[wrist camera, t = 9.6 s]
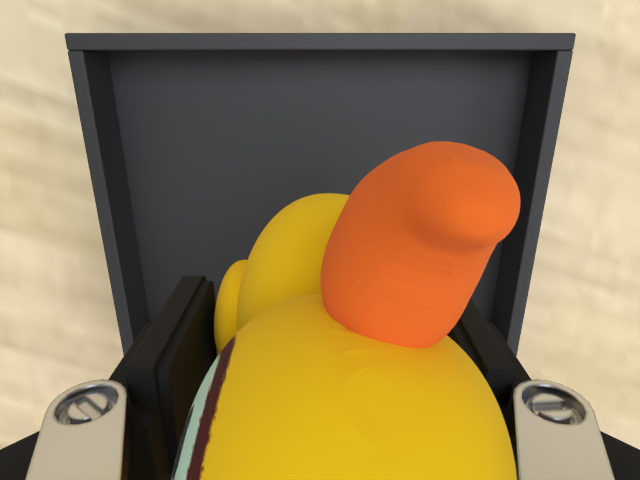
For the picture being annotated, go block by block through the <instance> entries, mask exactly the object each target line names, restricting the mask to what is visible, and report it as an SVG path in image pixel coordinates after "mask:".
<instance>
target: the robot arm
mask: <svg viewBox="0 0 640 480" xmlns="http://www.w3.org/2000/svg"><path fill="white" fill-rule="evenodd" d="M215 307H216V301H215V290H214V283H213V281H207V279H206V277H205V276H183V277H182V278H181V280H180V281H179V283H178V284H177V286H176V287H175V289H174V290H173V292H172V294H171V295H170V297H169V298H168V300H167V301H166V303H165V304H164V306H163V307H162V309H161V311H160V312H159V314H158V315H157V317H156V318H155V320H154V321H153V323H147V324H146V325H145V326H144V327H143V329H142V330H141V332H140V333H139V335H138V336H137V338H136V339H135V341H134V342H133V344H132V345H131V347H130V348H129V350H128V351H127V353H126V354H125V356H124V357H123V359H122V360H121V362H120V363H119V365H118V366H117V368H116V369H115V371H114V372H113V374H112V375H111V377H110V378H109V380H94V381H89V382H85V383H82V384H79V385H76V386H74V387H72V388H70V389H68V390H66V391H65V392H63V393H62V394H60V395H59V396H57V397H56V398H55V399H54V400H53V401H52V402H51V403H50V405H49V407H48V409H47V411H46V413H45V416H44V419H43V423H42V426H41V429H40V431H38V432H36V433H34V434H32V435H30V436H28V437H26V438H24V439H22V440H20V441H18V442H16V443H13V444H11V445H9V446H7V447H5V448H3V449H1V450H0V480H171V479H172V474H173V469H174V464H175V460H176V456H177V452H178V448H179V444H180V440H181V437H182V433H183V430H184V427H185V424H186V421H187V418H188V415H189V412H190V409H191V407H192V404H193V402H194V399H195V397H196V395H197V392H198V390H199V388H200V386H201V384H202V382H203V380H204V378H205V376H206V374H207V373H208V371H209V369H210V367H211V366H212V364H213V363H214V361H215V360H216V358H217V348H216V344H215V338H214V314H215ZM447 336H449V337H450V338H451V339H452V340H453V341H454V342H455V343H457V344H458V345H459V346H460V347H461V348H462V349H463V350H464V351H465V353H466V354H467V355H468V356H469V357H470V358H471V359H472V361H473V362H474V363H475V365H476V366H477V367H478V369H479V370H480V372H481V373H482V375H483V376H484V378H485V380H486V381H487V383H488V385H489V387H490V388H491V390H492V392H493V394H494V396H495V398H496V401H497V403H498V405H499V407H500V410H501V412H502V415H503V418H504V421H505V424H506V427H507V430H508V433H509V437H510V441H511V445H512V449H513V454H514V459H515V465H516V472H517V480H640V450H639V449H637V448H635V447H633V446H631V445H628V444H626V443H624V442H622V441H620V440H618V439H616V438H614V437H612V436H610V435H608V434H605V433H603V432H601V431H600V429H599V426H598V423H597V419H596V416H595V413H594V411H593V409H592V407H591V405H590V403H589V402H588V401H587V400H586V399H585V398H584V397H583V396H581V395H580V394H578V393H577V392H575V391H574V390H572V389H570V388H568V387H566V386H564V385H561V384H558V383H555V382H551V381H546V380H531V379H530V377H529V376H528V374H527V373H526V371H525V370H524V368H523V367H522V365H521V364H520V362H519V361H518V359H517V358H516V356H515V355H514V353H513V352H512V350H511V349H510V347H509V346H508V344H507V343H506V341H505V340H504V338H503V337H502V335H501V334H500V332H499V331H498V329H497V328H496V326H495V325H494V324H493V323H487V322H486V320H485V319H484V317H483V316H482V314H481V313H480V311H479V310H478V308H477V306H476V305H475V303H474V302H473V300H472V299H471V298H470V300H469V302H468V304H467V306H466V308H465V310H464V312H463V313H462V315H461V317H460V318H459V320H458V322H457V323H456V325H455V326H454V327H453V328H452V330H451V331H450V332H449V333H448V334H447Z"/></svg>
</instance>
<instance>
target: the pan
mask: <svg viewBox="0 0 640 480" xmlns="http://www.w3.org/2000/svg"><path fill="white" fill-rule="evenodd" d="M575 36H576V34H575V33H66V34H65V39H66V44H67V49H68V50H70V51H68V55H69V61H70V66H71V72H72V77H73V82H74V88H75V93H76V99H77V104H78V109H79V115H80V120H81V126H82V131H83V137H84V142H85V147H86V153H87V158H88V164H89V169H90V174H91V180H92V185H93V191H94V196H95V202H96V207H97V212H98V218H99V223H100V229H101V234H102V239H103V245H104V250H105V256H106V261H107V266H108V272H109V277H110V283H111V288H112V294H113V299H114V304H115V310H116V315H117V321H118V326H119V331H120V337H121V342H122V348H123V353H124V356H125V354H126V353H127V351H128V350H129V348H130V347H131V345H132V344H133V342H134V341H135V339H136V338H137V336H138V335H139V333H140V332H141V330H142V329H143V327H144V326H145V325H146V324H147V323H153V321H154V320H155V318H156V317H157V315H158V314H159V312H160V311H161V309H162V307H163V306H164V304H165V303H166V301H167V300H168V298H169V297H170V295H171V294H172V292H173V290H174V289H175V287H176V286H177V284H178V283H179V281H180V280H181V278H182V277H183V276H205V277H206V279H207V281H213V283H214V290H215V301H217V296H218V292H219V289H220V286H221V283H222V280H223V278H224V276H225V274H226V272H227V271H228V269H229V268H230V267H231V266H232V265H233V264H234V263H235V262H237V261H240V260H248V258H249V255H250V253H251V251H252V249H253V247H254V245H255V243H256V241H257V239H258V237H259V236H260V234H261V233H262V231H263V230H264V228H265V227H266V226H267V224H268V223H269V222H270V221H271V220H272V219H273V217H274V216H275V215H277V214H278V213H279V212H280V211H281V210H282V209H284V208H285V207H286V206H288V205H289V204H291V203H292V202H294V201H296V200H298V199H301V198H303V197H306V196H310V195H314V194H323V193H336V194H345V195H351V193H352V192H353V190H354V189H355V187H356V186H357V185H358V184H359V182H360V181H361V180H362V179H363V178H364V177H365V176H366V175H367V174H368V173H370V172H371V171H372V170H373V169H375V168H376V167H377V166H379V165H380V164H382V163H383V162H385V161H386V160H388V159H389V158H391V157H393V156H394V155H396V154H398V153H400V152H403V151H406V150H409V149H411V148H414V147H416V146H419V145H421V144H425V143H428V142H435V141H449V142H456V143H462V144H466V145H469V146H472V147H474V148H477V149H480V150H482V151H485V152H487V153H489V154H490V155H492V156H494V157H495V158H497V159H498V160H499V161H500V162H501V163H502V164H503V165H504V166H505V167H506V168H507V169H508V171H509V172H510V174H511V175H512V177H513V178H514V180H515V182H516V184H517V186H518V189H519V192H520V200H521V201H520V212H519V216H518V219H517V221H516V223H515V225H514V227H513V229H512V230H511V232H510V233H509V234H508V235H507V236H506V237H505V238H504V239H503V240H501V241H500V242H498V243H497V245H496V246H495V248H494V250H493V252H492V254H491V256H490V258H489V260H488V262H487V265H486V267H485V269H484V272H483V274H482V276H481V278H480V280H479V282H478V284H477V286H476V288H475V290H474V292H473V294H472V296H471V299H472V300H473V302H474V303H475V305H476V306H477V308H478V310H479V311H480V313H481V314H482V316H483V317H484V319H485V320H486V322H487V323H493V324H494V325H495V326H496V328H497V329H498V331H499V332H500V334H501V335H502V337H503V338H504V340H505V341H506V343H507V344H508V346H509V347H510V349H511V350H512V352H513V353H514V355H515V356H516V355H517V350H518V345H519V339H520V334H521V328H522V323H523V318H524V312H525V307H526V301H527V296H528V291H529V285H530V280H531V274H532V269H533V264H534V258H535V253H536V247H537V242H538V237H539V231H540V226H541V220H542V215H543V210H544V204H545V199H546V193H547V188H548V183H549V177H550V172H551V166H552V161H553V156H554V150H555V145H556V139H557V134H558V129H559V123H560V118H561V112H562V107H563V102H564V96H565V91H566V85H567V80H568V75H569V69H570V64H571V58H572V53H573V51H571V50H573V47H574V41H575Z"/></svg>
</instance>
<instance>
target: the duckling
mask: <svg viewBox="0 0 640 480" xmlns="http://www.w3.org/2000/svg"><path fill="white" fill-rule="evenodd" d="M520 201H521V200H520V192H519V189H518V186H517V184H516V182H515V180H514V178H513V177H512V175H511V174H510V172H509V171H508V169H507V168H506V167H505V166H504V165H503V164H502V163H501V162H500V161H499V160H498V159H497V158H495V157H494V156H492V155H490V154H489V153H487V152H485V151H482V150H480V149H477V148H474V147H472V146H469V145H466V144H462V143H456V142H449V141H435V142H428V143H425V144H421V145H419V146H416V147H414V148H411V149H409V150H406V151H403V152H400V153H398V154H396V155H394V156H393V157H391V158H389V159H388V160H386V161H385V162H383V163H382V164H380V165H379V166H377V167H376V168H375V169H373V170H372V171H371V172H370V173H368V174H367V175H366V176H365V177H364V178H363V179H362V180H361V181H360V182H359V184H358V185H357V186H356V187H355V189H354V190H353V192H352V193H351V195H345V194H336V193H323V194H314V195H310V196H306V197H303V198H301V199H298V200H296V201H294V202H292V203H291V204H289V205H288V206H286V207H285V208H284V209H282V210H281V211H280V212H279V213H278V214H277V215H275V216H274V217H273V219H272V220H271V221H270V222H269V223H268V224H267V226H266V227H265V228H264V230H263V231H262V233H261V234H260V236H259V237H258V239H257V241H256V243H255V245H254V247H253V249H252V251H251V253H250V255H249V258H248V260H240V261H237V262H235V263H234V264H233V265H232V266H231V267H230V268H229V269H228V271H227V272H226V274H225V276H224V278H223V280H222V283H221V286H220V289H219V292H218V296H217V301H216V307H215V314H214V338H215V344H216V348H217V358H216V360H215V361H214V363H213V364H212V366H211V367H210V369H209V371H208V373H207V374H206V376H205V378H204V380H203V382H202V384H201V386H200V388H199V390H198V392H197V395H196V397H195V399H194V402H193V404H192V407H191V409H190V412H189V415H188V418H187V421H186V424H185V427H184V430H183V433H182V437H181V440H180V444H179V448H178V452H177V456H176V460H175V464H174V469H173V474H172V479H171V480H517V472H516V465H515V459H514V454H513V449H512V445H511V441H510V437H509V433H508V430H507V427H506V424H505V421H504V418H503V415H502V412H501V410H500V407H499V405H498V403H497V401H496V398H495V396H494V394H493V392H492V390H491V388H490V387H489V385H488V383H487V381H486V380H485V378H484V376H483V375H482V373H481V372H480V370H479V369H478V367H477V366H476V365H475V363H474V362H473V361H472V359H471V358H470V357H469V356H468V355H467V354H466V353H465V351H464V350H463V349H462V348H461V347H460V346H459V345H458V344H457V343H455V342H454V341H453V340H452V339H451V338H450V337H449V336H447V334H448V333H449V332H450V331H451V330H452V328H453V327H454V326H455V325H456V323H457V322H458V320H459V318H460V317H461V315H462V313H463V312H464V310H465V308H466V306H467V304H468V302H469V300H470V298H471V296H472V294H473V292H474V290H475V288H476V286H477V284H478V282H479V280H480V278H481V276H482V274H483V272H484V269H485V267H486V265H487V262H488V260H489V258H490V256H491V254H492V252H493V250H494V248H495V246H496V245H497V243H498V242H500V241H501V240H503V239H504V238H505V237H506V236H507V235H508V234H509V233H510V232H511V230H512V229H513V227H514V225H515V223H516V221H517V219H518V216H519V212H520Z"/></svg>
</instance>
